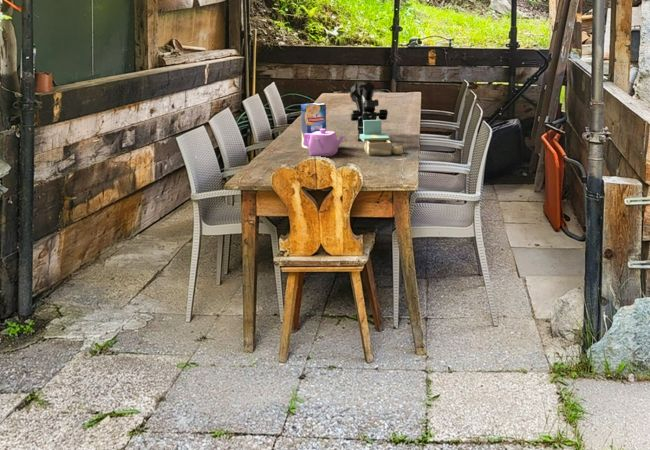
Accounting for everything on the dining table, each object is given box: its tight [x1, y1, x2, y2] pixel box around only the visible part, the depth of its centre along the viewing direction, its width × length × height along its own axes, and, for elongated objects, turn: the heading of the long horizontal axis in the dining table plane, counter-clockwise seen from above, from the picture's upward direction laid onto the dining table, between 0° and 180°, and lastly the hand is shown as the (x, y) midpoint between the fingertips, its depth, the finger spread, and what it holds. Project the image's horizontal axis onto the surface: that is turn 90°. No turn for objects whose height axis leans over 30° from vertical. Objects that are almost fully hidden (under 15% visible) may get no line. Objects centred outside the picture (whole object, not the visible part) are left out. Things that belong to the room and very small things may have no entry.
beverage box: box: [300, 102, 327, 149], centre depth 436 cm, size 7×11×22 cm, turn 118°
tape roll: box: [392, 145, 404, 155], centre depth 417 cm, size 5×5×3 cm
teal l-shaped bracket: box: [360, 119, 391, 143], centre depth 424 cm, size 14×13×9 cm
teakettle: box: [303, 128, 346, 157], centre depth 417 cm, size 17×17×12 cm
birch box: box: [363, 139, 392, 157], centre depth 417 cm, size 14×11×6 cm
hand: (371, 128), depth 434 cm, fingers closed
